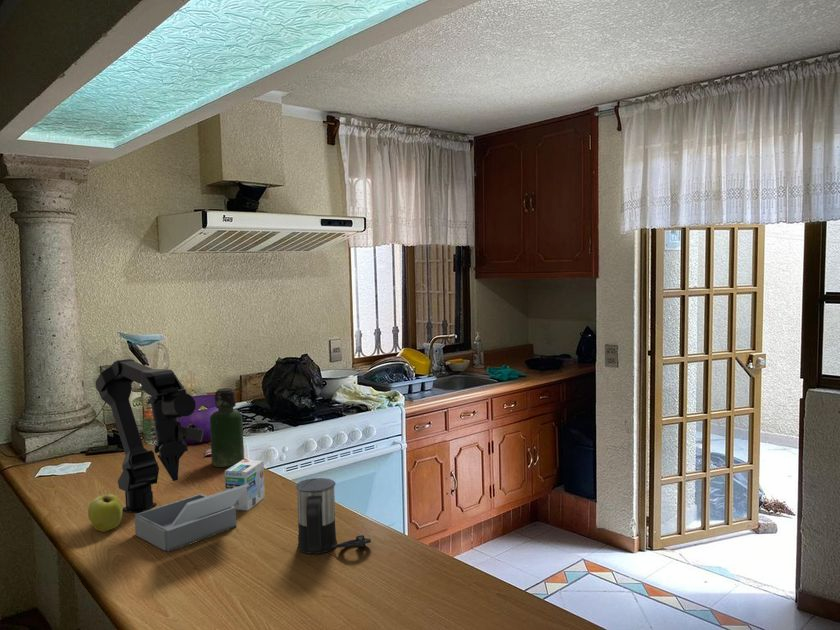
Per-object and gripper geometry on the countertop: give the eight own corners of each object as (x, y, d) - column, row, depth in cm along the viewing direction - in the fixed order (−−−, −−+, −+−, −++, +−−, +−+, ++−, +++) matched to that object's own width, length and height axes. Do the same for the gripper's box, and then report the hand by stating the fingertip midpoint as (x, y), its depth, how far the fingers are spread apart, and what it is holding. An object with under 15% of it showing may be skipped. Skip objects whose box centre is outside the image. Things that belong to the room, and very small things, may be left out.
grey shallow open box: (133, 534, 155) (132, 514, 155) (202, 511, 170) (201, 493, 169) (167, 552, 145) (166, 531, 144) (237, 526, 159) (236, 507, 159)
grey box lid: (171, 524, 145) (187, 502, 140) (231, 504, 158) (248, 483, 152) (172, 526, 145) (188, 505, 140) (232, 506, 157) (249, 485, 152)
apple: (81, 534, 156) (79, 494, 155) (107, 521, 163) (105, 484, 163) (105, 538, 153) (103, 498, 153) (131, 525, 161) (129, 487, 160)
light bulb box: (248, 511, 169) (246, 472, 168) (225, 509, 170) (223, 470, 170) (265, 497, 179) (264, 460, 179) (243, 495, 181) (242, 459, 180)
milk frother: (293, 541, 150) (291, 480, 149) (357, 530, 156) (356, 471, 155) (306, 567, 137) (304, 500, 135) (375, 553, 143) (374, 489, 141)
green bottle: (215, 459, 217) (212, 387, 215) (246, 457, 218) (243, 386, 216) (208, 468, 206) (205, 393, 204) (241, 467, 207) (238, 392, 206)
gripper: (204, 413, 156) (214, 475, 155) (193, 413, 173) (202, 469, 172) (155, 422, 151) (166, 487, 150) (150, 421, 167) (159, 480, 166)
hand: (175, 480), depth 160 cm, fingers closed
